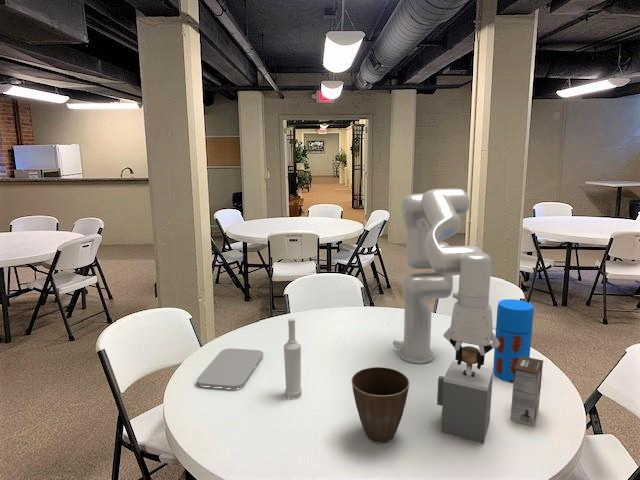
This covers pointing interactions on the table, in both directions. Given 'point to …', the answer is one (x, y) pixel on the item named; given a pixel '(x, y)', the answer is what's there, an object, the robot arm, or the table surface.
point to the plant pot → (380, 401)
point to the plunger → (469, 358)
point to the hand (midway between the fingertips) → (469, 364)
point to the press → (465, 401)
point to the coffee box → (526, 390)
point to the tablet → (230, 368)
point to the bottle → (292, 363)
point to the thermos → (512, 336)
